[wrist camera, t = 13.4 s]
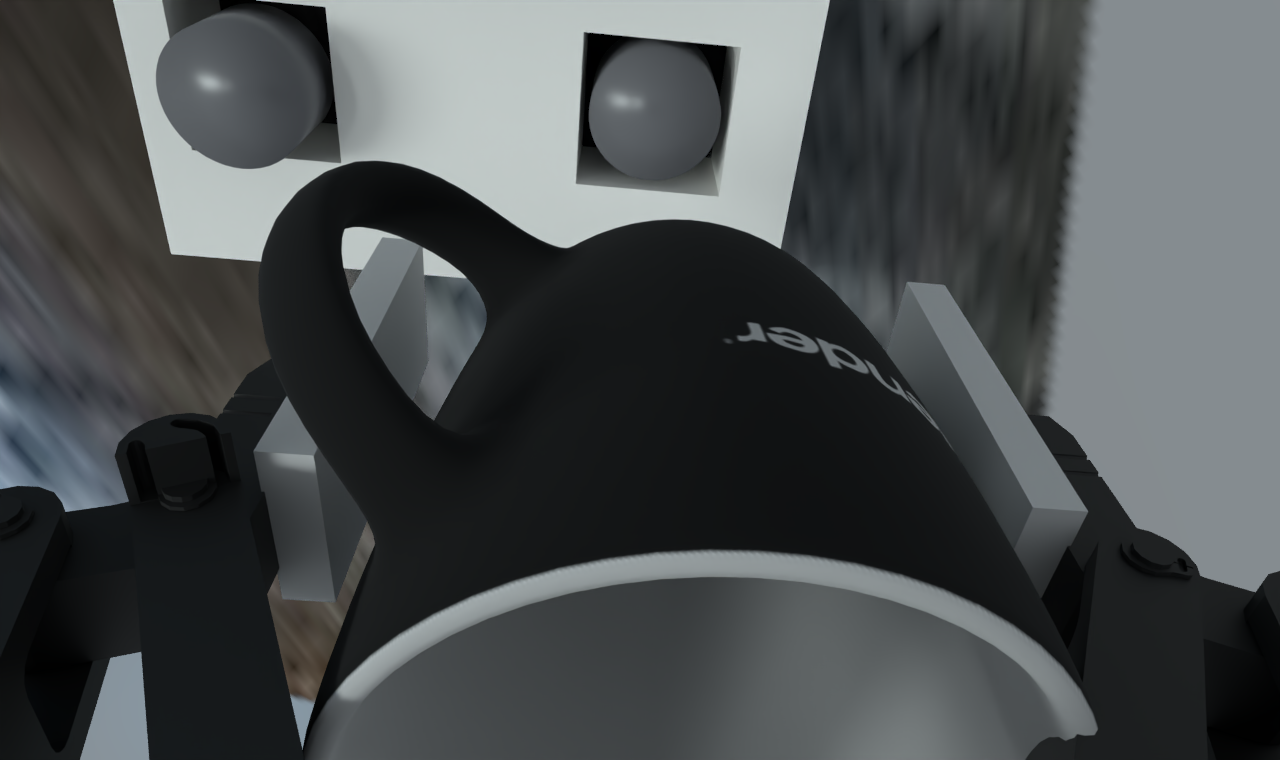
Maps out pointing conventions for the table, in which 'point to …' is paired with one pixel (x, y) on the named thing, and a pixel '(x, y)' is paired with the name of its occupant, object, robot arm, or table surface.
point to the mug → (648, 510)
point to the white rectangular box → (495, 117)
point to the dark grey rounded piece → (245, 85)
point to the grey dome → (654, 107)
